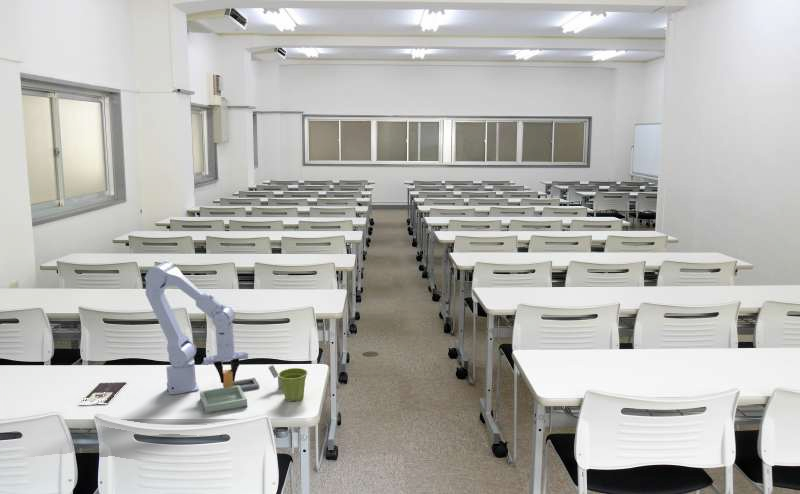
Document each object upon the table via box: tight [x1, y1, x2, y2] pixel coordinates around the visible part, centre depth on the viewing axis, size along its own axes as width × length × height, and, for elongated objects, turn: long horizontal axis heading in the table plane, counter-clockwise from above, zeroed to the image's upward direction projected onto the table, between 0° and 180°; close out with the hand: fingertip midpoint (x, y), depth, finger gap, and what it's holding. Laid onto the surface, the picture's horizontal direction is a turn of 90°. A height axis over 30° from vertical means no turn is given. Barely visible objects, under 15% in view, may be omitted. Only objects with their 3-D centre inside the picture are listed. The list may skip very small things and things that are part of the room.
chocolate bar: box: [82, 381, 127, 404], centre depth 233 cm, size 9×1×18 cm
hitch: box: [233, 377, 260, 392], centre depth 237 cm, size 9×7×1 cm
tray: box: [199, 385, 248, 415], centre depth 224 cm, size 13×13×3 cm
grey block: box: [268, 364, 283, 389], centre depth 236 cm, size 7×2×8 cm, turn 93°
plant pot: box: [278, 367, 308, 402], centre depth 226 cm, size 9×9×9 cm
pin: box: [222, 368, 233, 388], centre depth 234 cm, size 3×3×6 cm
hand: (227, 381), depth 235 cm, fingers closed on pin, 3 cm apart
